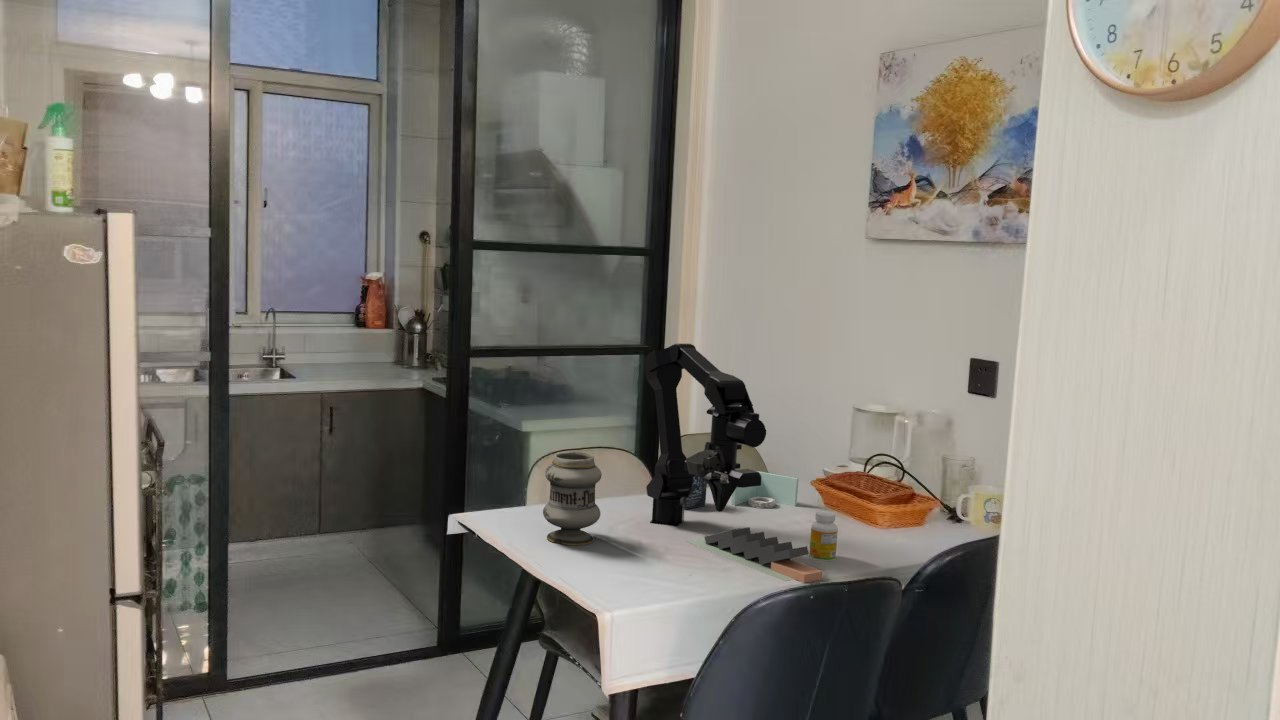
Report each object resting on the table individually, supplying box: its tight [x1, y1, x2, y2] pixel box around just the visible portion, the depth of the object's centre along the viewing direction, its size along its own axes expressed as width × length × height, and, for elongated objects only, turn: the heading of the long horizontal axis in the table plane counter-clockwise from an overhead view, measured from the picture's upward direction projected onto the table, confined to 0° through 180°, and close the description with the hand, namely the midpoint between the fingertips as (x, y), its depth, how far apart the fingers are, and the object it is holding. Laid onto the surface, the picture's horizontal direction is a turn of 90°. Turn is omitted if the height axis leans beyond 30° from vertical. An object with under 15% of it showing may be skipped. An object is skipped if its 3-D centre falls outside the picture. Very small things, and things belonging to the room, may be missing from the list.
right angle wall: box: [731, 470, 799, 509], centre depth 262 cm, size 12×12×8 cm
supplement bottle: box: [808, 510, 838, 562], centre depth 217 cm, size 5×5×10 cm
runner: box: [685, 538, 796, 582], centre depth 214 cm, size 30×10×1 cm, turn 36°
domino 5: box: [758, 545, 809, 565], centre depth 207 cm, size 2×5×9 cm
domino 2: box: [718, 531, 766, 549], centre depth 217 cm, size 2×5×9 cm
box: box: [682, 475, 708, 511], centre depth 257 cm, size 8×6×11 cm
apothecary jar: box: [542, 451, 602, 546], centre depth 221 cm, size 12×12×18 cm
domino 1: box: [704, 526, 752, 544], centre depth 220 cm, size 2×5×9 cm
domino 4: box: [744, 541, 794, 560], centre depth 210 cm, size 2×5×9 cm
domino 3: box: [730, 536, 779, 554], centre depth 213 cm, size 2×5×9 cm
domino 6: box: [771, 558, 824, 584], centre depth 204 cm, size 2×5×9 cm
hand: (719, 511), depth 222 cm, fingers closed
